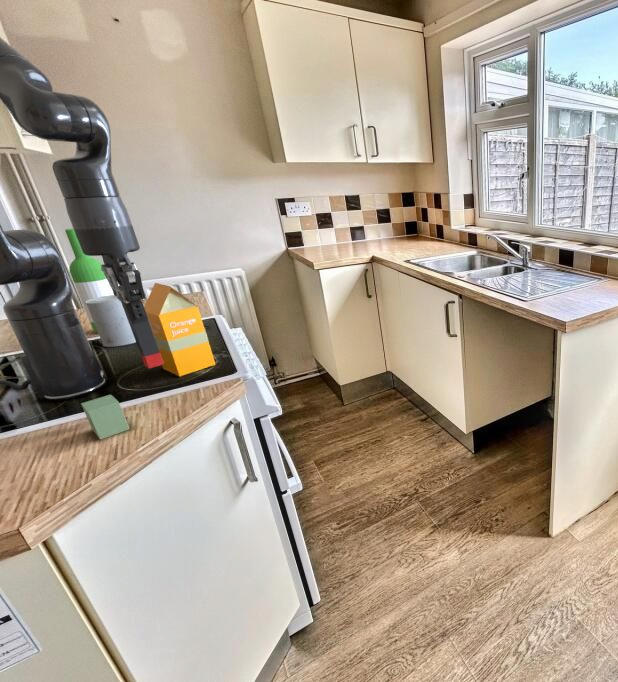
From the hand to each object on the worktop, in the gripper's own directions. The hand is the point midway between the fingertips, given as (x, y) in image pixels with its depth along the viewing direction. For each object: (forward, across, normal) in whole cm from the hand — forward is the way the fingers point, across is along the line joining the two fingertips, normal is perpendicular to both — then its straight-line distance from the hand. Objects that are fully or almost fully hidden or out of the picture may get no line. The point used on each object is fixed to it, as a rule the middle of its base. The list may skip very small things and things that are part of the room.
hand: (138, 320), depth 78 cm
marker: (+2, 0, 0) cm, 2 cm away
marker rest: (+17, -5, +10) cm, 20 cm away
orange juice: (+17, +16, -9) cm, 25 cm away
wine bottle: (+17, +71, -6) cm, 73 cm away
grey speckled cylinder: (+17, +54, -6) cm, 57 cm away
